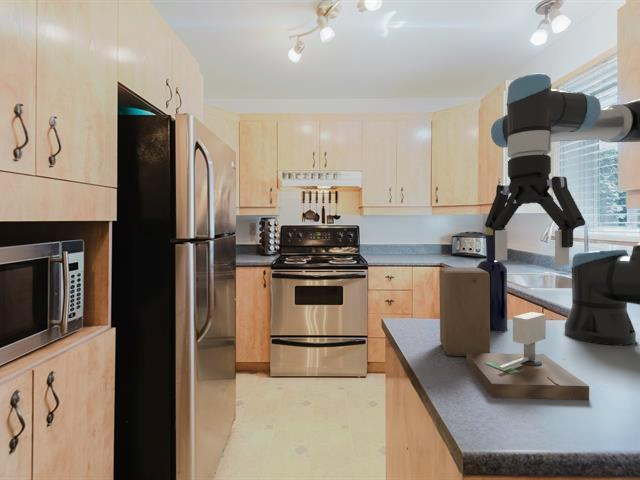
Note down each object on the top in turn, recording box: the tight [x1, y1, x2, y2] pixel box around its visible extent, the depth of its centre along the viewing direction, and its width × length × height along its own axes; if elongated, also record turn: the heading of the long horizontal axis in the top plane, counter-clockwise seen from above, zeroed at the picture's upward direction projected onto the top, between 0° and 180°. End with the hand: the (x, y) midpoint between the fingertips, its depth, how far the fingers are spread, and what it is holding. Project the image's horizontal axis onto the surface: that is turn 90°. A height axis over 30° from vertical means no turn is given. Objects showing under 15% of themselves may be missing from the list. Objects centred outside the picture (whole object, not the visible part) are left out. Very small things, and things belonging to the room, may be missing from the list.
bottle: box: [476, 227, 508, 333], centre depth 109 cm, size 9×9×30 cm
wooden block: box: [438, 266, 491, 358], centre depth 89 cm, size 10×10×20 cm
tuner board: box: [466, 352, 590, 401], centre depth 72 cm, size 16×16×3 cm
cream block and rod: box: [499, 311, 547, 370], centre depth 73 cm, size 3×14×9 cm, turn 122°
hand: (529, 262), depth 74 cm, fingers open, 13 cm apart
